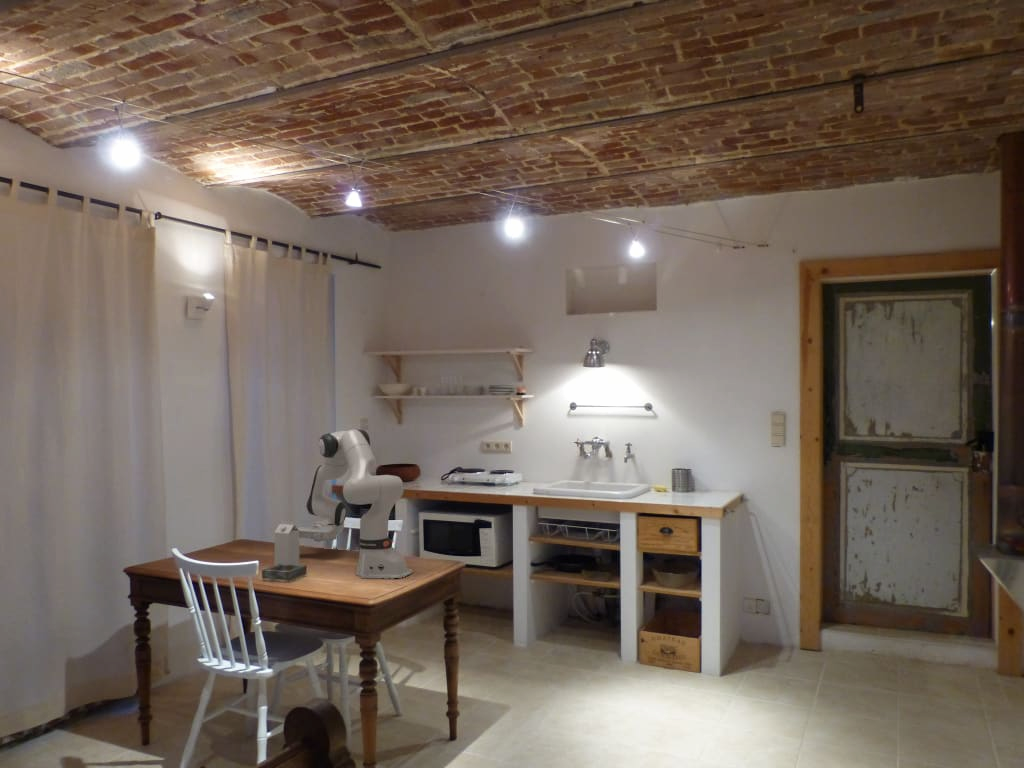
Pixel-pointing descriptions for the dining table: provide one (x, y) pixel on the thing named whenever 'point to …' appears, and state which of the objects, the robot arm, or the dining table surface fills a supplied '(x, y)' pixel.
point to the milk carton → (287, 544)
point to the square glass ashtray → (284, 572)
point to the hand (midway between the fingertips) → (302, 536)
